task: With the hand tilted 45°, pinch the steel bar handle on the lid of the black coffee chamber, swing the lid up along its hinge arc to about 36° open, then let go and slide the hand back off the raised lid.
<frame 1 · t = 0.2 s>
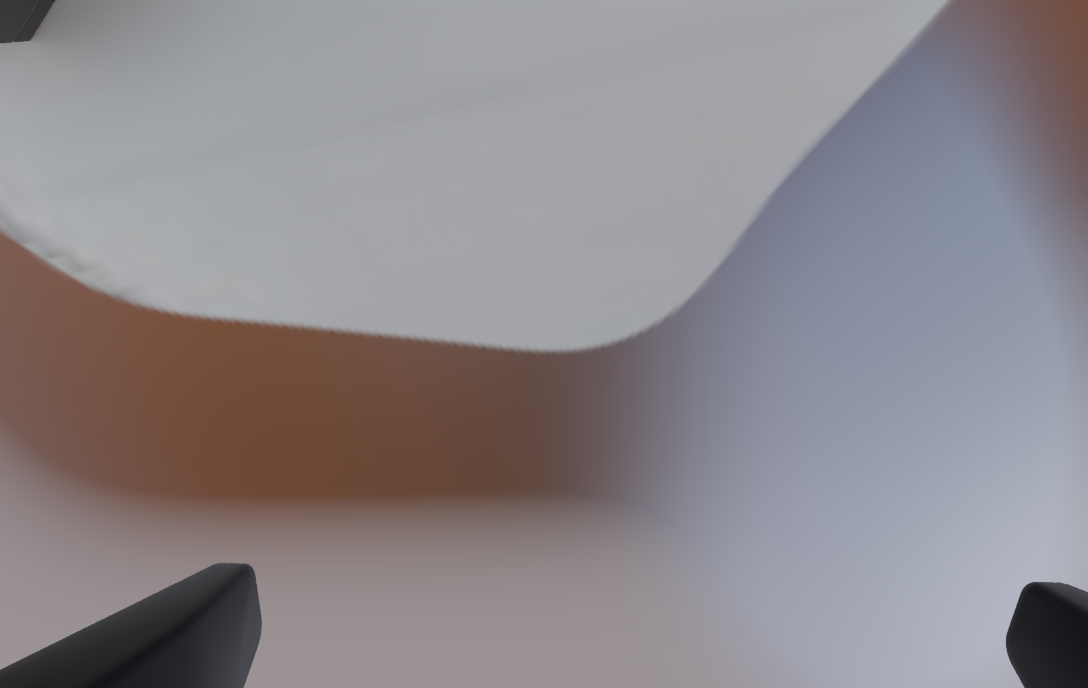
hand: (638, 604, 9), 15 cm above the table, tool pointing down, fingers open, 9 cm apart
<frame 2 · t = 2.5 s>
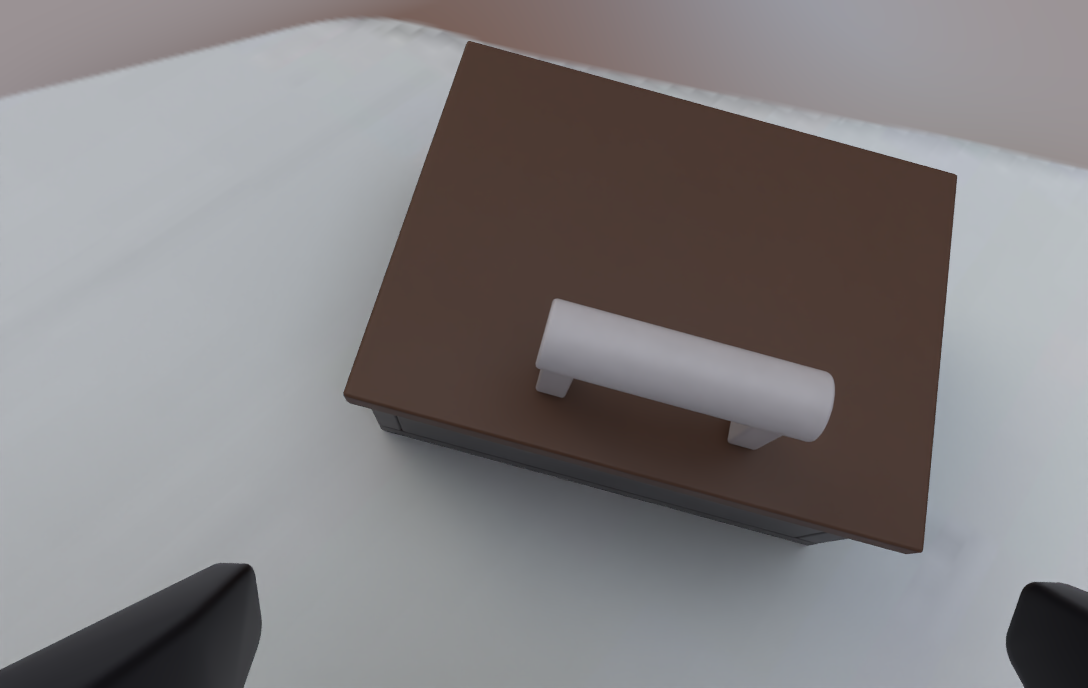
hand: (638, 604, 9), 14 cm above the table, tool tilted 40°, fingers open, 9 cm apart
coffee chamber: (628, 345, 25), on the table
chamber lid: (693, 248, 18), point 8 cm above the table, hinge at 0.0°
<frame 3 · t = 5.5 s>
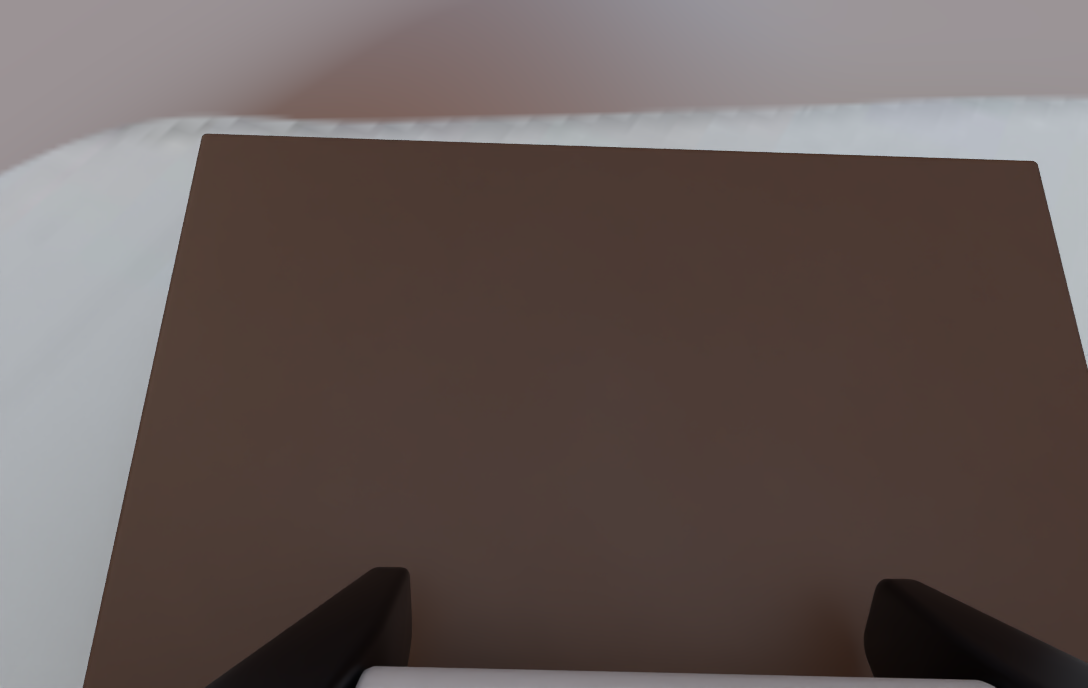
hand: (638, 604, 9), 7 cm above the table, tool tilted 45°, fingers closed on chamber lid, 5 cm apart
chamber lid: (644, 423, 9), point 8 cm above the table, hinge at 0.0°, touching gripper
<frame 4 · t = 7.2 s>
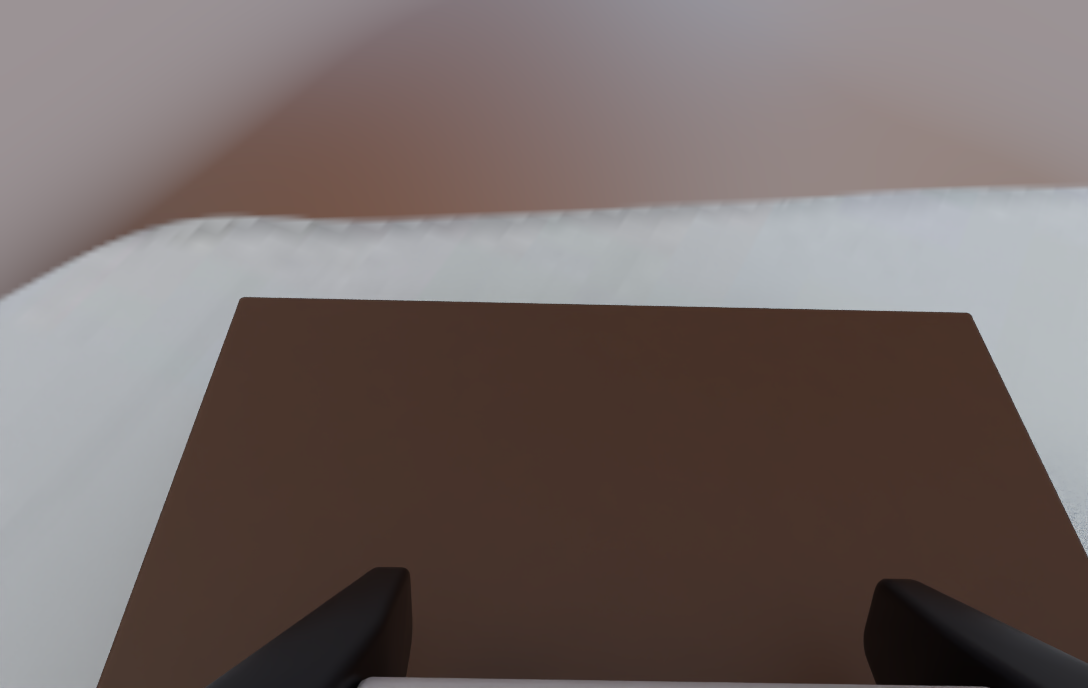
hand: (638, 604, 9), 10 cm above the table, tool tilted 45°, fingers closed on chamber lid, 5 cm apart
chamber lid: (635, 503, 10), point 10 cm above the table, hinge at 22.1°, touching gripper
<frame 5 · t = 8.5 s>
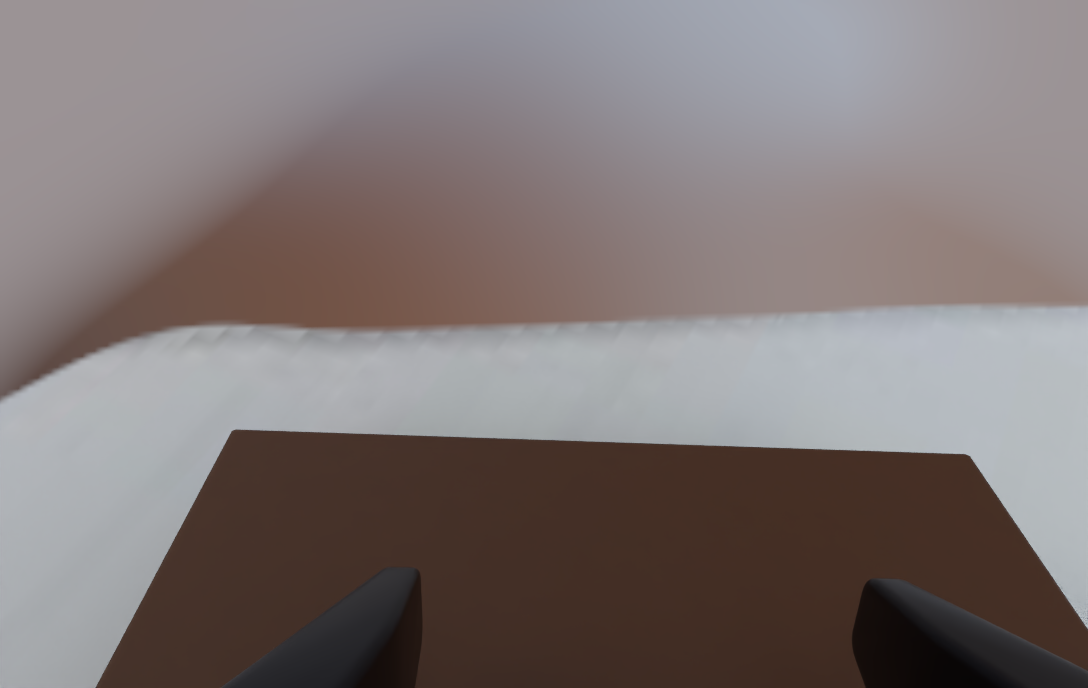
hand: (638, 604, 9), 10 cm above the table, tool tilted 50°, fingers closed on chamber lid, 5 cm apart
chamber lid: (639, 616, 9), point 10 cm above the table, hinge at 33.1°, touching gripper
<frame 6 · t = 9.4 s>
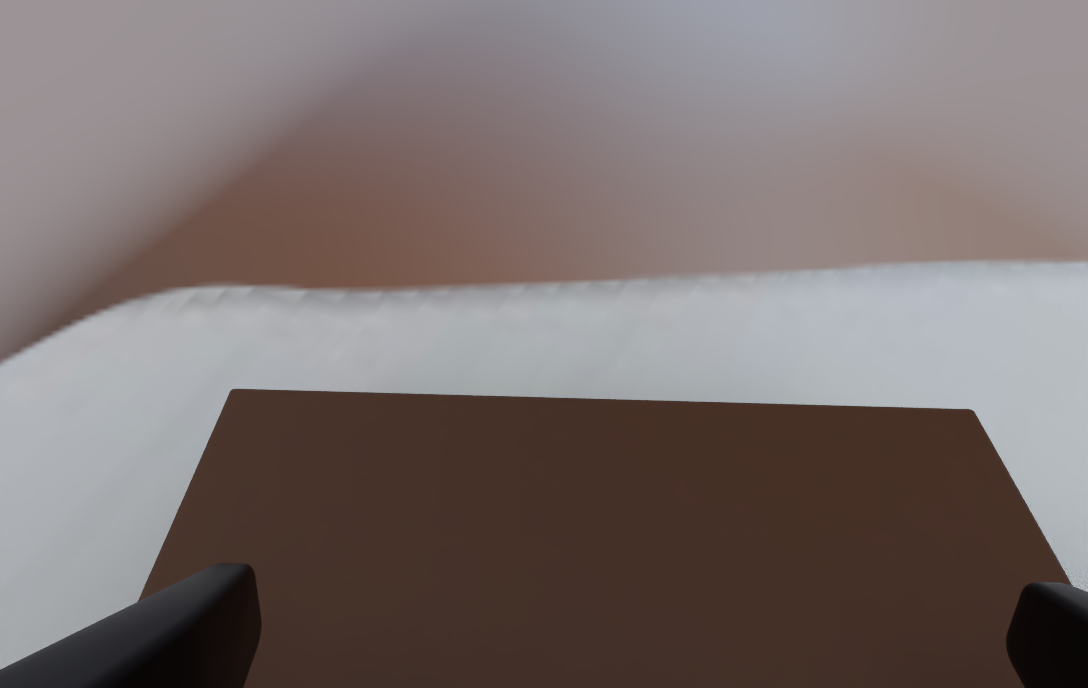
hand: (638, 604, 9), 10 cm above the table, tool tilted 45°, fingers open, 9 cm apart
chamber lid: (637, 604, 9), point 10 cm above the table, hinge at 27.5°
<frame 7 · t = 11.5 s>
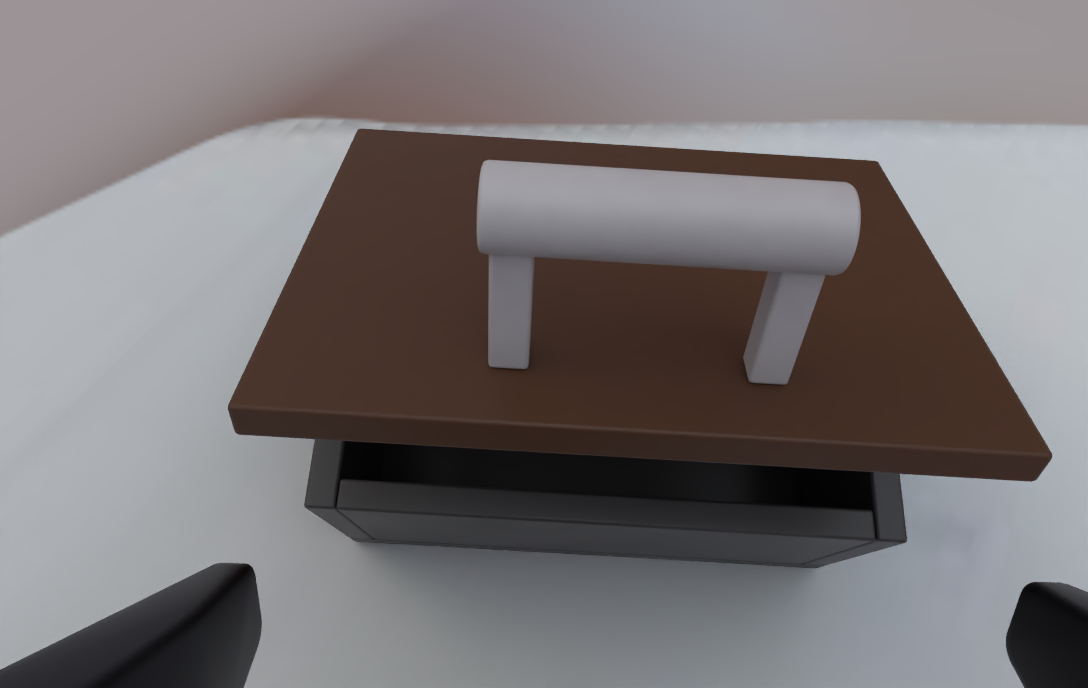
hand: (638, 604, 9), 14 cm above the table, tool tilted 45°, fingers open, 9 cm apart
coffee chamber: (591, 399, 24), on the table
chamber lid: (637, 191, 15), point 10 cm above the table, hinge at 27.5°
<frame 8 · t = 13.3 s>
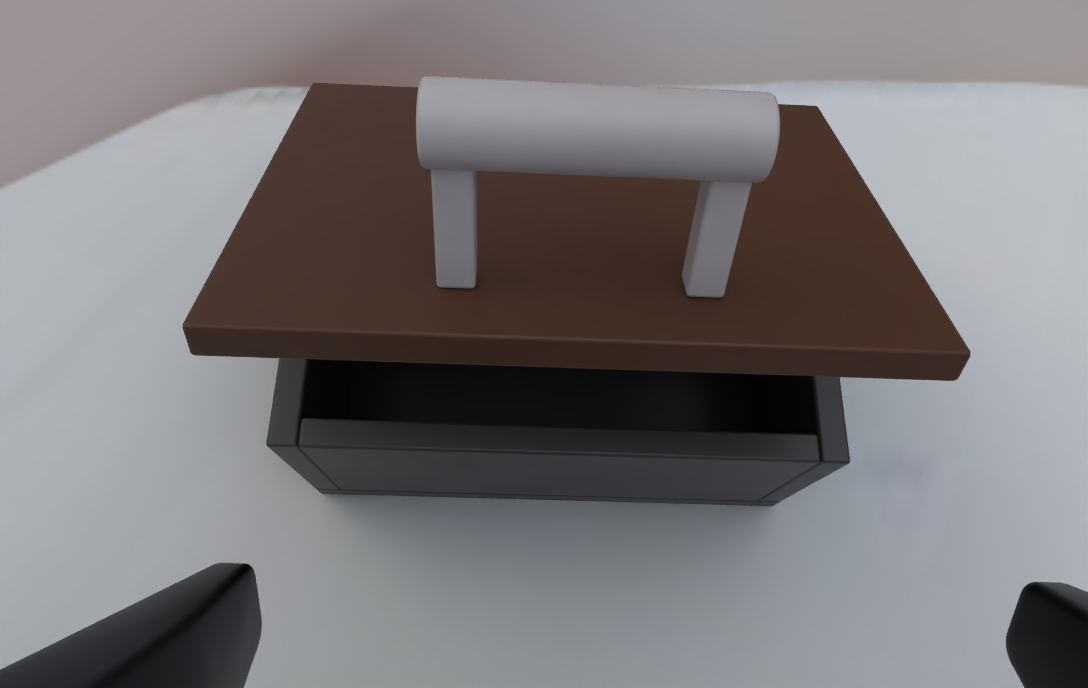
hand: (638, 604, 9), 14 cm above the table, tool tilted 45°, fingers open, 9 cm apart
coffee chamber: (551, 351, 25), on the table
chamber lid: (579, 124, 16), point 10 cm above the table, hinge at 27.5°
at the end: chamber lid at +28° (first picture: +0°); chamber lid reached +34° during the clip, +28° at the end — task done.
